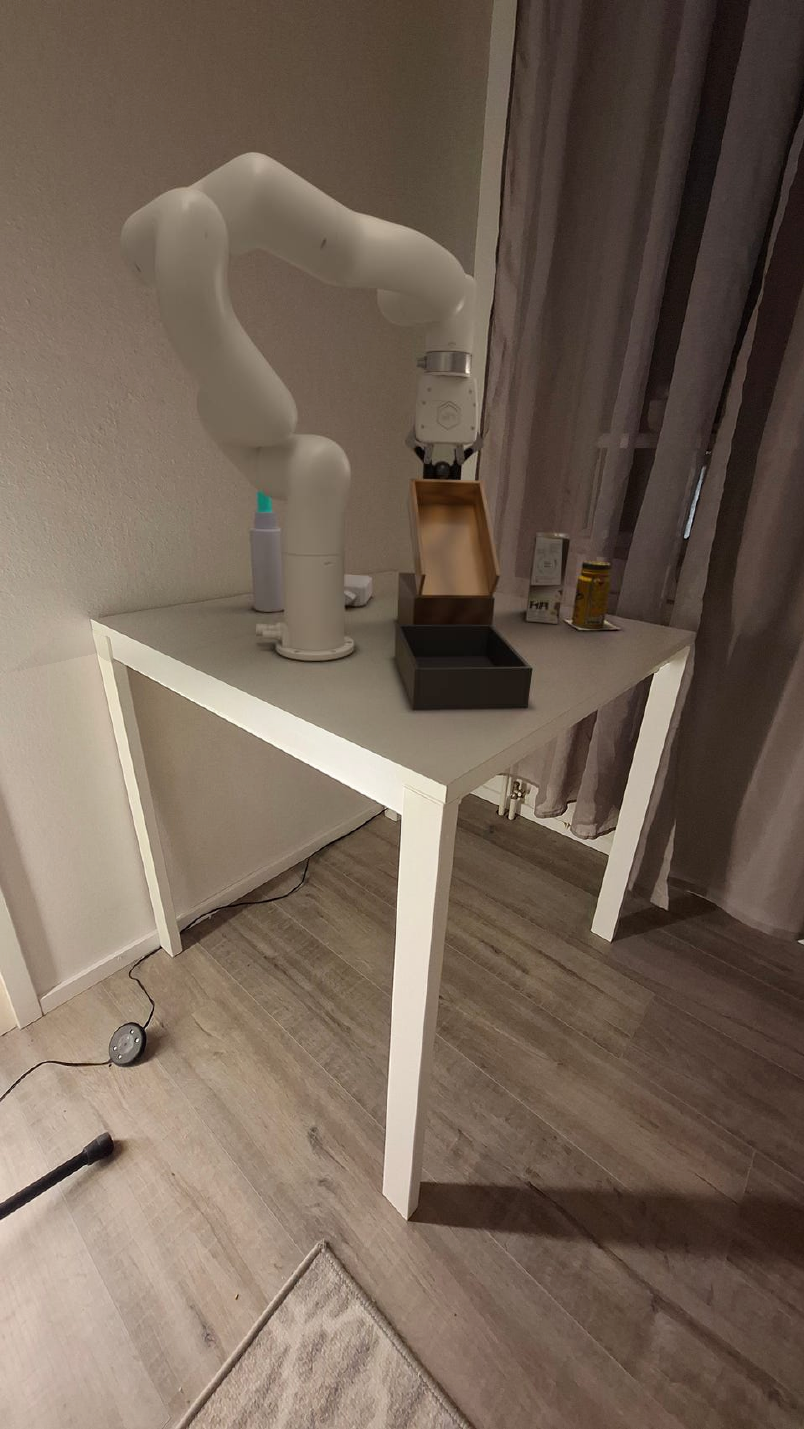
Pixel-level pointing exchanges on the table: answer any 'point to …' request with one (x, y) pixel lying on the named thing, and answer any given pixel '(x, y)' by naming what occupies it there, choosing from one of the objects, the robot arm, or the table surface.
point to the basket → (460, 667)
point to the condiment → (592, 597)
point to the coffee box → (547, 577)
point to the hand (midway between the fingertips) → (441, 487)
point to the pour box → (451, 537)
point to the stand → (440, 607)
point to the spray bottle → (266, 558)
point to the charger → (357, 590)
